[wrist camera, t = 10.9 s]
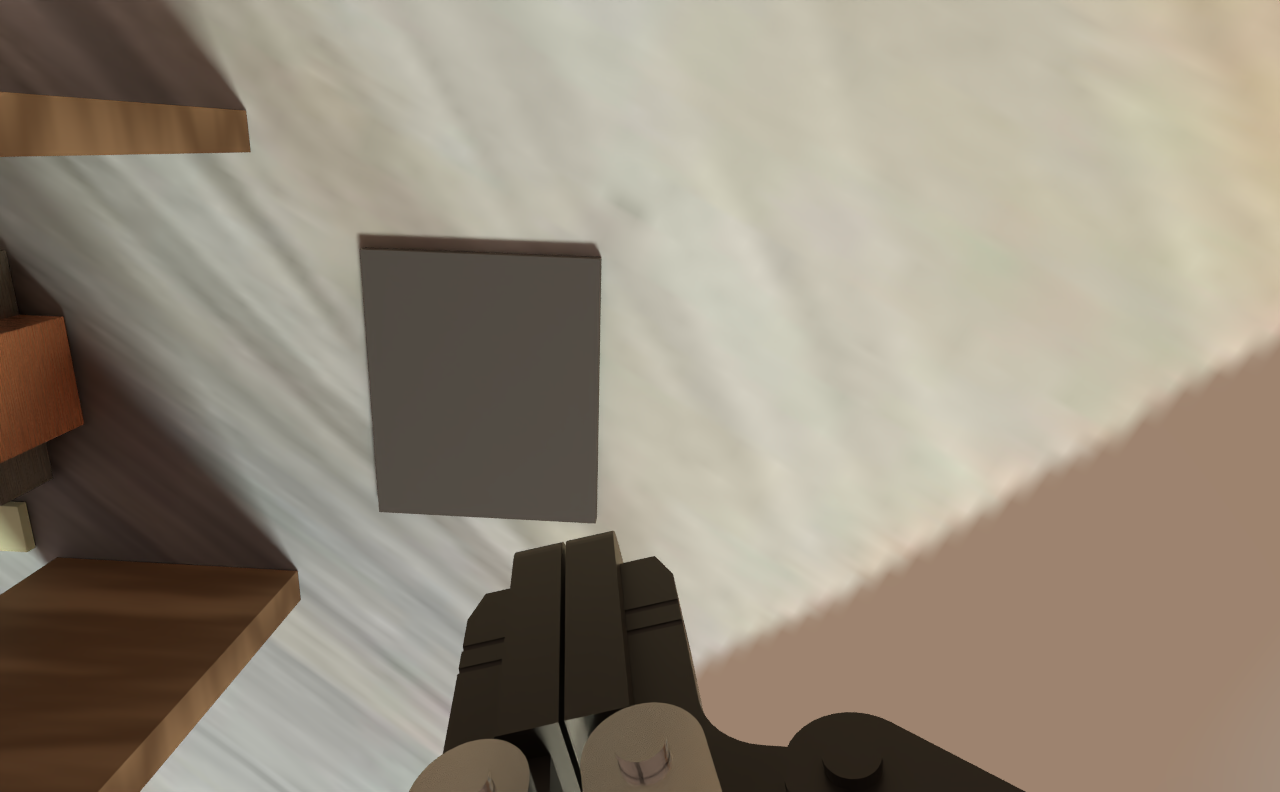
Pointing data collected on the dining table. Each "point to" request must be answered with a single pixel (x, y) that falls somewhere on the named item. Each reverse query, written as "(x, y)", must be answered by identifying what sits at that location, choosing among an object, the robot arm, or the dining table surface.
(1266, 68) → the dining table surface
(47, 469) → the shallow grey tray
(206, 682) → the tunnel
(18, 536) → the pair of cream slabs
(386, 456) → the dark grey slab
